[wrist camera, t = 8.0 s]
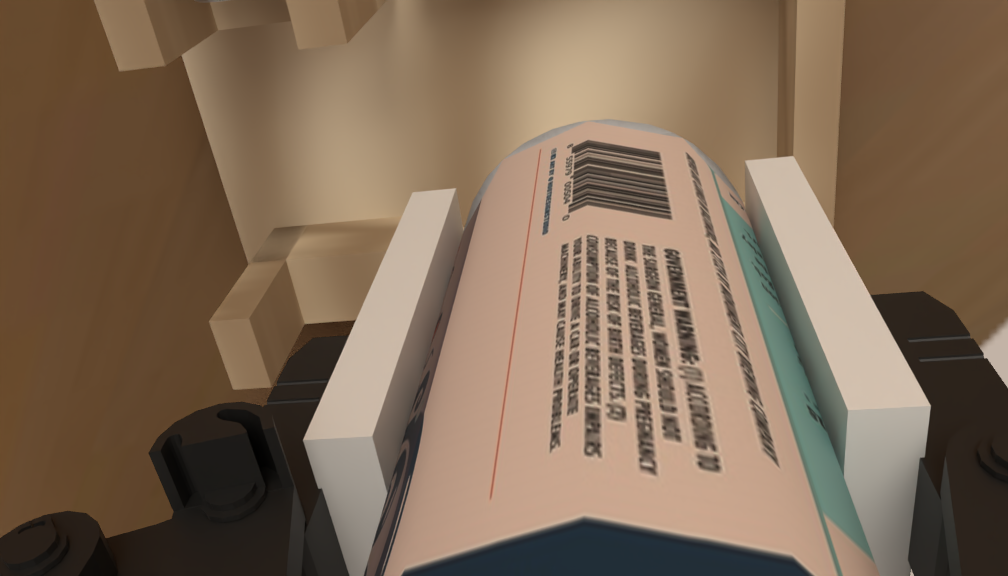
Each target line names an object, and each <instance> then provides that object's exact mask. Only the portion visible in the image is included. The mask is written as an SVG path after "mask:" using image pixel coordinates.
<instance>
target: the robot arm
mask: <svg viewBox="0 0 1008 576" xmlns="http://www.w3.org/2000/svg"><path fill="white" fill-rule="evenodd" d="M745 209H746V212H747V215H748V217H749V220H750V223H751V226H752V228H753V231H754V234H755V236H756V239H757V242H758V245H759V247H760V250H761V253H762V256H763V258H764V261H765V264H766V266H767V269H768V272H769V275H770V277H771V280H772V283H773V286H774V288H775V291H776V294H777V296H778V299H779V302H780V305H781V307H782V310H783V313H784V316H785V318H786V321H787V324H788V326H789V329H790V332H791V335H792V337H793V340H794V343H795V346H796V348H797V351H798V354H799V356H800V359H801V362H802V365H803V367H804V370H805V373H806V376H807V378H808V381H809V384H810V386H811V389H812V392H813V395H814V397H815V400H816V403H817V406H818V408H819V411H820V414H821V416H822V419H823V422H824V425H825V427H826V430H827V433H828V436H829V438H830V441H831V444H832V446H833V449H834V452H835V455H836V457H837V460H838V463H839V465H840V468H841V471H842V474H843V476H844V479H845V482H846V485H847V487H848V490H849V493H850V495H851V498H852V501H853V504H854V506H855V509H856V512H857V515H858V517H859V520H860V523H861V525H862V528H863V531H864V534H865V536H866V539H867V542H868V545H869V547H870V550H871V553H872V555H873V558H874V561H875V564H876V566H877V569H878V572H879V575H880V576H910V572H911V569H912V572H913V574H914V576H1008V388H1007V386H1006V385H1005V384H1004V382H1003V381H1002V379H1001V378H1000V377H999V375H998V374H997V372H996V371H995V369H994V368H993V366H992V365H991V364H990V362H989V361H988V359H987V358H986V359H984V356H983V352H982V350H981V349H980V348H979V346H978V345H977V343H976V342H975V340H974V339H970V333H969V332H968V330H967V329H966V327H965V326H964V325H963V323H962V322H961V320H960V319H959V317H958V316H957V315H956V313H955V312H954V310H952V309H951V308H949V307H947V306H946V305H944V304H942V303H941V302H939V301H938V300H936V299H934V298H933V297H931V296H930V295H928V294H926V293H925V292H923V291H921V292H907V293H893V294H879V295H870V294H869V292H868V291H867V289H866V287H865V285H864V283H863V282H862V280H861V278H860V276H859V274H858V273H857V271H856V269H855V267H854V265H853V263H852V262H851V260H850V258H849V256H848V254H847V253H846V251H845V249H844V247H843V245H842V243H841V242H840V240H839V238H838V236H837V234H836V233H835V231H834V229H833V227H832V225H831V223H830V222H829V220H828V218H827V216H826V214H825V213H824V211H823V209H822V207H821V205H820V203H819V202H818V200H817V198H816V196H815V194H814V193H813V191H812V189H811V187H810V185H809V183H808V182H807V180H806V178H805V176H804V174H803V173H802V171H801V169H800V167H799V165H798V163H797V162H796V160H795V158H794V156H789V157H779V158H768V159H758V160H747V161H745ZM463 231H464V230H463V225H462V219H461V213H460V208H459V202H458V196H457V191H456V188H453V189H443V190H432V191H422V192H413V193H412V195H411V197H410V199H409V202H408V204H407V206H406V208H405V211H404V213H403V215H402V218H401V220H400V222H399V224H398V227H397V229H396V231H395V233H394V236H393V238H392V240H391V242H390V245H389V247H388V249H387V251H386V254H385V256H384V258H383V260H382V263H381V265H380V267H379V269H378V272H377V274H376V276H375V279H374V281H373V283H372V285H371V288H370V290H369V292H368V294H367V297H366V299H365V301H364V303H363V306H362V308H361V310H360V312H359V315H358V317H357V319H356V321H355V324H354V326H353V328H352V330H351V333H350V335H347V336H333V337H319V338H313V339H311V340H310V341H309V342H308V343H307V344H306V345H304V346H303V347H302V348H301V349H300V350H299V351H298V352H296V353H295V354H294V355H293V356H292V357H291V358H289V360H288V362H287V364H286V366H285V367H284V369H283V371H282V373H281V375H280V377H279V379H278V381H277V386H274V388H273V390H272V392H271V394H270V396H269V398H268V400H267V405H264V407H262V406H260V405H256V404H251V403H246V402H234V403H223V404H218V405H215V406H211V407H208V408H205V409H202V410H198V411H196V412H194V413H192V414H190V415H188V416H186V417H185V418H183V419H181V420H179V421H177V422H175V423H174V424H173V425H172V426H171V427H169V428H168V429H167V430H166V431H165V432H164V433H162V434H161V435H160V436H159V437H158V438H157V440H156V441H155V443H154V445H153V446H152V448H151V450H150V451H149V455H150V457H151V460H152V462H153V464H154V467H155V469H156V471H157V474H158V476H159V478H160V481H161V483H162V485H163V488H164V490H165V492H166V495H167V497H168V499H169V502H170V504H171V506H172V509H173V511H174V512H173V516H172V519H170V520H167V521H165V522H162V523H159V524H156V525H153V526H149V527H145V528H142V529H138V530H135V531H131V532H128V533H124V534H120V535H117V536H113V537H110V538H105V536H104V534H103V532H102V530H101V528H100V526H99V524H98V522H97V521H96V520H94V519H93V518H92V517H90V516H89V515H88V514H86V513H80V512H71V511H65V512H59V513H54V514H48V515H44V516H41V517H39V518H36V519H33V520H32V521H28V522H26V523H24V524H22V525H20V526H18V527H16V528H15V529H13V530H12V531H10V532H9V533H7V534H6V535H4V536H3V537H1V538H0V576H364V573H365V569H366V566H367V562H368V559H369V556H370V552H371V549H372V545H373V542H374V538H375V535H376V531H377V528H378V524H379V521H380V518H381V514H382V511H383V507H384V504H385V500H386V497H387V493H388V490H389V487H390V483H391V480H392V476H393V473H394V469H395V466H396V462H397V459H398V456H399V452H400V449H401V445H402V442H403V438H404V435H405V431H406V428H407V425H408V421H409V418H410V414H411V411H412V407H413V404H414V400H415V397H416V393H417V390H418V387H419V383H420V380H421V376H422V373H423V369H424V366H425V362H426V359H427V356H428V352H429V349H430V345H431V342H432V338H433V335H434V331H435V328H436V325H437V321H438V318H439V314H440V311H441V307H442V304H443V300H444V297H445V293H446V290H447V287H448V283H449V280H450V276H451V273H452V269H453V266H454V262H455V259H456V256H457V252H458V249H459V245H460V242H461V238H462V235H463Z"/></svg>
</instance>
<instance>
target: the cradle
mask: <svg viewBox="0 0 1008 576" xmlns="http://www.w3.org/2000/svg"><path fill="white" fill-rule="evenodd" d="M94 2H95V5H96V7H97V10H98V13H99V16H100V19H101V21H102V24H103V27H104V30H105V33H106V35H107V38H108V41H109V44H110V47H111V49H112V52H113V55H114V58H115V61H116V63H117V66H118V69H119V71H127V70H136V69H144V68H152V67H160V66H166V65H168V64H169V63H170V62H172V61H173V60H175V59H176V58H178V57H179V56H181V55H182V58H183V61H184V64H185V67H186V70H187V74H188V77H189V80H190V83H191V86H192V89H193V92H194V95H195V99H196V102H197V105H198V108H199V111H200V114H201V117H202V120H203V124H204V127H205V130H206V133H207V136H208V139H209V142H210V146H211V149H212V152H213V155H214V158H215V161H216V164H217V167H218V171H219V174H220V177H221V180H222V183H223V186H224V189H225V192H226V196H227V199H228V202H229V205H230V208H231V211H232V214H233V217H234V221H235V224H236V227H237V230H238V233H239V236H240V239H241V242H242V246H243V249H244V252H245V255H246V258H247V261H248V264H249V265H248V266H247V268H246V269H245V271H244V272H243V274H242V275H241V276H240V278H239V279H238V281H237V282H236V284H235V285H234V286H233V288H232V289H231V291H230V292H229V294H228V295H227V296H226V298H225V299H224V301H223V302H222V303H221V305H220V306H219V308H218V309H217V311H216V312H215V313H214V315H213V316H212V318H211V319H210V321H209V323H210V326H211V329H212V332H213V334H214V337H215V340H216V343H217V345H218V348H219V351H220V354H221V357H222V359H223V362H224V365H225V368H226V371H227V373H228V376H229V379H230V382H231V385H232V387H233V390H237V389H252V388H267V387H272V386H273V384H274V382H275V380H276V378H277V376H278V374H279V372H280V370H281V369H282V367H283V365H284V363H285V361H286V359H287V357H288V355H289V353H290V351H291V349H292V347H293V346H294V344H295V342H296V340H297V338H298V336H299V334H300V332H301V330H302V328H303V326H304V324H311V323H324V322H337V321H350V320H356V319H357V317H358V315H359V312H360V310H361V308H362V306H363V303H364V301H365V299H366V297H367V294H368V292H369V290H370V288H371V285H372V283H373V281H374V279H375V276H376V274H377V272H378V269H379V267H380V265H381V263H382V260H383V258H384V256H385V254H386V251H387V249H388V247H389V245H390V242H391V240H392V238H393V236H394V233H395V231H396V229H397V227H398V224H399V222H400V220H401V218H402V215H403V213H404V211H405V208H406V206H407V204H408V202H409V199H410V197H411V195H412V193H413V192H422V191H432V190H443V189H453V188H456V191H457V196H458V202H459V208H460V213H461V219H462V225H463V230H464V228H465V225H466V221H467V218H468V215H469V212H470V209H471V205H472V202H473V200H474V199H475V197H476V195H477V193H478V192H479V190H480V188H481V187H482V185H483V183H484V181H485V180H486V178H487V176H488V175H489V174H490V173H491V172H492V171H493V170H494V169H495V168H496V167H497V166H498V165H499V163H500V162H501V161H502V160H503V159H504V158H506V157H507V156H508V155H510V154H511V153H512V152H513V151H515V150H516V149H517V148H518V147H520V146H521V145H522V144H524V143H526V142H527V141H529V140H531V139H533V138H535V137H537V136H539V135H541V134H543V133H545V132H548V131H550V130H552V129H555V128H558V127H562V126H566V125H569V124H573V123H576V122H581V121H591V120H604V119H613V120H621V121H628V122H636V123H643V124H650V125H653V126H656V127H659V128H662V129H665V130H667V131H670V132H672V133H675V134H676V135H678V136H680V137H682V138H684V139H685V140H687V141H689V142H691V143H693V144H694V145H695V146H696V147H698V148H699V149H700V150H701V151H702V152H703V153H704V154H706V155H707V156H708V157H709V158H710V159H711V160H712V161H714V162H715V163H716V164H717V165H718V166H719V167H720V168H721V170H722V171H723V173H724V174H725V175H726V177H727V178H728V179H729V181H730V182H731V184H732V185H733V186H734V188H735V189H736V191H737V192H738V194H739V196H740V198H741V200H742V202H743V204H744V206H745V161H747V160H758V159H768V158H779V157H789V156H794V158H795V160H796V162H797V163H798V165H799V167H800V169H801V171H802V173H803V174H804V176H805V178H806V180H807V182H808V183H809V185H810V187H811V189H812V191H813V193H814V194H815V196H816V198H817V200H818V202H819V203H820V205H821V207H822V209H823V211H824V213H825V214H826V216H827V218H828V220H829V222H830V223H831V225H832V227H833V229H834V210H835V191H836V172H837V153H838V133H839V114H840V95H841V76H842V56H843V37H844V18H845V0H228V1H221V2H207V3H202V2H195V1H194V0H94Z"/></svg>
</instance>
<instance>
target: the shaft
mask: <svg viewBox="0 0 1008 576" xmlns="http://www.w3.org/2000/svg"><path fill="white" fill-rule="evenodd" d="M194 1H195V2H202V3H207V2H221V1H228V0H194Z"/></svg>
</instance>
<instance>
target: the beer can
mask: <svg viewBox="0 0 1008 576" xmlns="http://www.w3.org/2000/svg"><path fill="white" fill-rule="evenodd" d="M364 576H880V575H879V572H878V569H877V566H876V564H875V561H874V558H873V555H872V553H871V550H870V547H869V545H868V542H867V539H866V536H865V534H864V531H863V528H862V525H861V523H860V520H859V517H858V515H857V512H856V509H855V506H854V504H853V501H852V498H851V495H850V493H849V490H848V487H847V485H846V482H845V479H844V476H843V474H842V471H841V468H840V465H839V463H838V460H837V457H836V455H835V452H834V449H833V446H832V444H831V441H830V438H829V436H828V433H827V430H826V427H825V425H824V422H823V419H822V416H821V414H820V411H819V408H818V406H817V403H816V400H815V397H814V395H813V392H812V389H811V386H810V384H809V381H808V378H807V376H806V373H805V370H804V367H803V365H802V362H801V359H800V356H799V354H798V351H797V348H796V346H795V343H794V340H793V337H792V335H791V332H790V329H789V326H788V324H787V321H786V318H785V316H784V313H783V310H782V307H781V305H780V302H779V299H778V296H777V294H776V291H775V288H774V286H773V283H772V280H771V277H770V275H769V272H768V269H767V266H766V264H765V261H764V258H763V256H762V253H761V250H760V247H759V245H758V242H757V239H756V236H755V234H754V231H753V228H752V226H751V223H750V220H749V217H748V215H747V212H746V209H745V206H744V204H743V202H742V200H741V198H740V196H739V194H738V192H737V191H736V189H735V188H734V186H733V185H732V184H731V182H730V181H729V179H728V178H727V177H726V175H725V174H724V173H723V171H722V170H721V168H720V167H719V166H718V165H717V164H716V163H715V162H714V161H712V160H711V159H710V158H709V157H708V156H707V155H706V154H704V153H703V152H702V151H701V150H700V149H699V148H698V147H696V146H695V145H694V144H693V143H691V142H689V141H687V140H685V139H684V138H682V137H680V136H678V135H676V134H675V133H672V132H670V131H667V130H665V129H662V128H659V127H656V126H653V125H650V124H643V123H636V122H628V121H621V120H613V119H604V120H591V121H581V122H576V123H573V124H569V125H566V126H562V127H558V128H555V129H552V130H550V131H548V132H545V133H543V134H541V135H539V136H537V137H535V138H533V139H531V140H529V141H527V142H526V143H524V144H522V145H521V146H520V147H518V148H517V149H516V150H515V151H513V152H512V153H511V154H510V155H508V156H507V157H506V158H504V159H503V160H502V161H501V162H500V163H499V165H498V166H497V167H496V168H495V169H494V170H493V171H492V172H491V173H490V174H489V175H488V176H487V178H486V180H485V181H484V183H483V185H482V187H481V188H480V190H479V192H478V193H477V195H476V197H475V199H474V200H473V202H472V205H471V209H470V212H469V215H468V218H467V221H466V225H465V228H464V231H463V235H462V238H461V242H460V245H459V249H458V252H457V256H456V259H455V262H454V266H453V269H452V273H451V276H450V280H449V283H448V287H447V290H446V293H445V297H444V300H443V304H442V307H441V311H440V314H439V318H438V321H437V325H436V328H435V331H434V335H433V338H432V342H431V345H430V349H429V352H428V356H427V359H426V362H425V366H424V369H423V373H422V376H421V380H420V383H419V387H418V390H417V393H416V397H415V400H414V404H413V407H412V411H411V414H410V418H409V421H408V425H407V428H406V431H405V435H404V438H403V442H402V445H401V449H400V452H399V456H398V459H397V462H396V466H395V469H394V473H393V476H392V480H391V483H390V487H389V490H388V493H387V497H386V500H385V504H384V507H383V511H382V514H381V518H380V521H379V524H378V528H377V531H376V535H375V538H374V542H373V545H372V549H371V552H370V556H369V559H368V562H367V566H366V569H365V573H364Z"/></svg>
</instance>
